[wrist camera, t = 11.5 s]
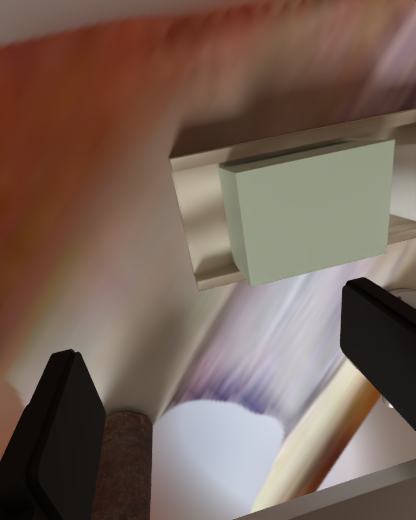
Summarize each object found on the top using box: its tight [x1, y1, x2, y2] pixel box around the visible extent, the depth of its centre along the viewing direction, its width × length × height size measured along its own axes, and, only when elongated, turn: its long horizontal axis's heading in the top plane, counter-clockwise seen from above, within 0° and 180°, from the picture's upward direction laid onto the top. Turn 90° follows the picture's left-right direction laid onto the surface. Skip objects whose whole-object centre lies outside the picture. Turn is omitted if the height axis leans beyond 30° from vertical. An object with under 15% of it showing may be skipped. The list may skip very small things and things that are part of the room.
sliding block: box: [218, 140, 395, 287], centre depth 25 cm, size 9×12×6 cm
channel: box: [168, 108, 416, 291], centre depth 25 cm, size 12×30×8 cm, turn 100°
